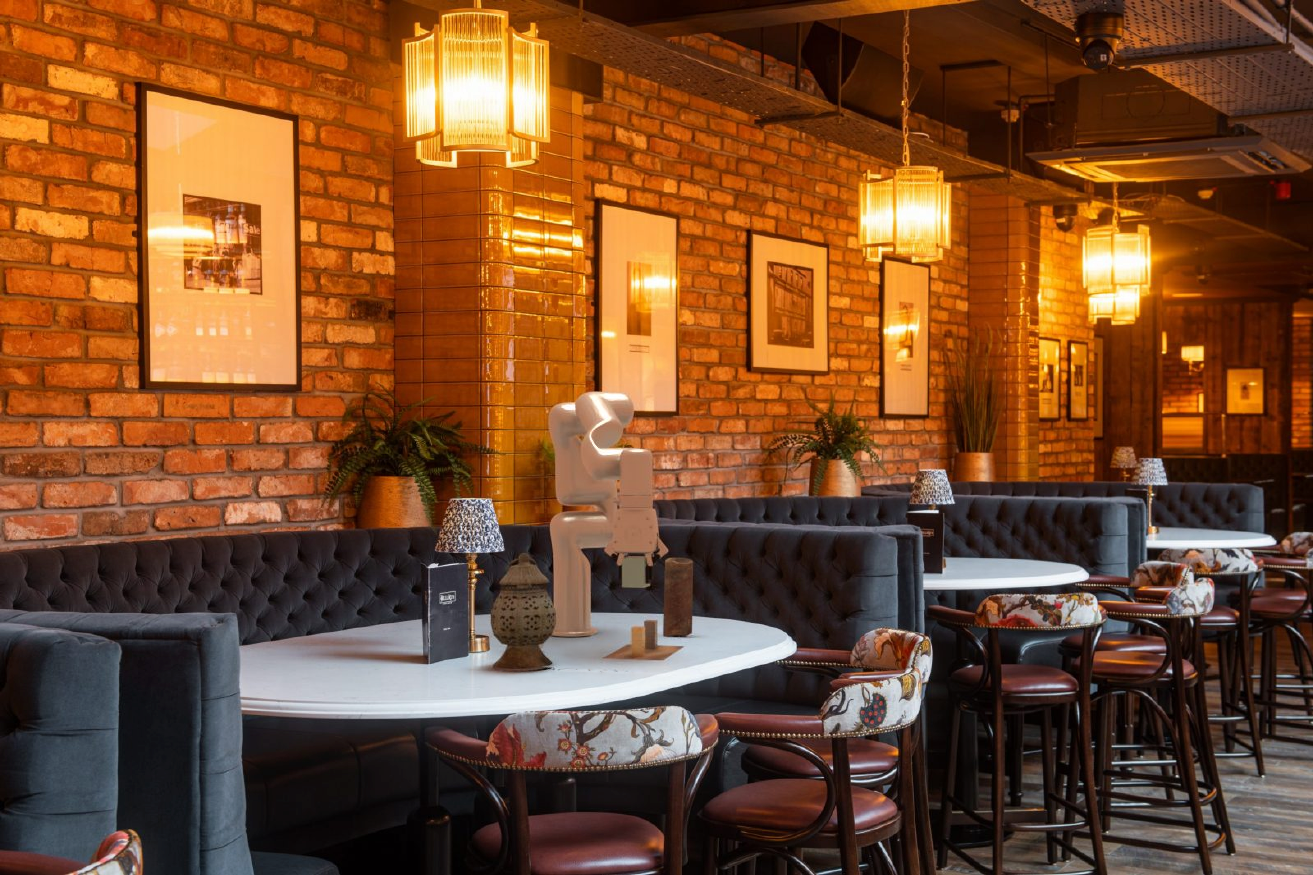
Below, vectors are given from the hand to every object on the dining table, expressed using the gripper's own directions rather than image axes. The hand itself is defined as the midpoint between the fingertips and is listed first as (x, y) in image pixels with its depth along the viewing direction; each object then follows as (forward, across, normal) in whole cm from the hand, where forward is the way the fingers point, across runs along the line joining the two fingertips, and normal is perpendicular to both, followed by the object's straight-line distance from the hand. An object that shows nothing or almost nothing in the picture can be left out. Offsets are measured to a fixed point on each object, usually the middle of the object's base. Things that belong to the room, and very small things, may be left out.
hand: (636, 582), depth 312 cm
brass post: (+17, 0, 0) cm, 17 cm away
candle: (+18, +1, +37) cm, 41 cm away
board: (+18, 0, +6) cm, 19 cm away
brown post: (+17, 0, +12) cm, 21 cm away
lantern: (+18, -22, -16) cm, 32 cm away
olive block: (+1, 0, 0) cm, 1 cm away
